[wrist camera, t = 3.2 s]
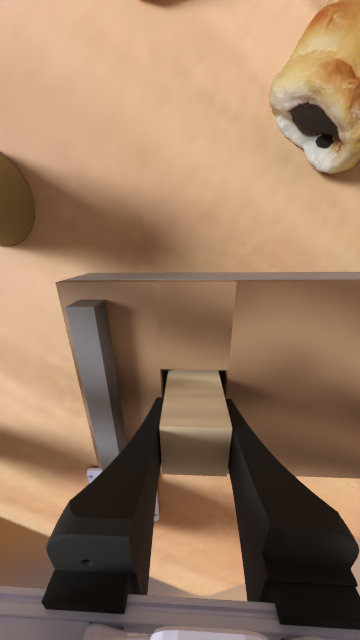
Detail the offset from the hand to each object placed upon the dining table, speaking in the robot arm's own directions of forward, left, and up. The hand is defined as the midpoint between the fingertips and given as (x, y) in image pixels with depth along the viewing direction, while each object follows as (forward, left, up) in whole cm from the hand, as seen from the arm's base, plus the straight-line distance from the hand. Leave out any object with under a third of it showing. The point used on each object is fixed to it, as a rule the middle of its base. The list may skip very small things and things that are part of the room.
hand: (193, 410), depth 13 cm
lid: (0, -3, -2) cm, 4 cm away
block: (0, 0, -4) cm, 4 cm away
